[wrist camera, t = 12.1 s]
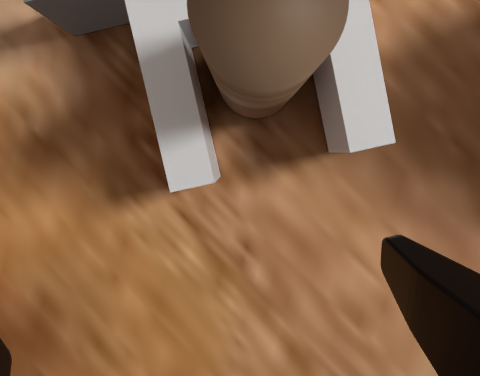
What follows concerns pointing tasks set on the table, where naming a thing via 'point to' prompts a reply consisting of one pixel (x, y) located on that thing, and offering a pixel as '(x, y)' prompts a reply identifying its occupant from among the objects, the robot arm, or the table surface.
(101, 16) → the backstop wall
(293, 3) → the dowel
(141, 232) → the table surface
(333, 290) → the table surface
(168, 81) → the socket block
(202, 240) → the table surface
